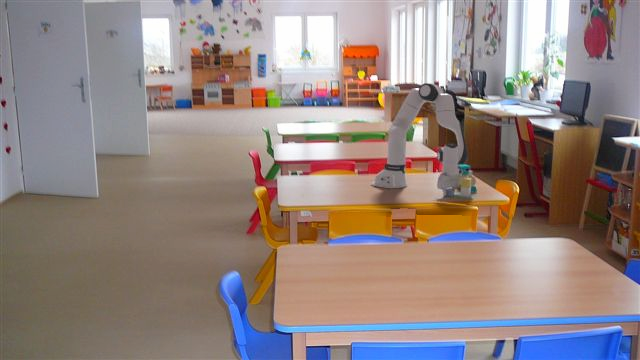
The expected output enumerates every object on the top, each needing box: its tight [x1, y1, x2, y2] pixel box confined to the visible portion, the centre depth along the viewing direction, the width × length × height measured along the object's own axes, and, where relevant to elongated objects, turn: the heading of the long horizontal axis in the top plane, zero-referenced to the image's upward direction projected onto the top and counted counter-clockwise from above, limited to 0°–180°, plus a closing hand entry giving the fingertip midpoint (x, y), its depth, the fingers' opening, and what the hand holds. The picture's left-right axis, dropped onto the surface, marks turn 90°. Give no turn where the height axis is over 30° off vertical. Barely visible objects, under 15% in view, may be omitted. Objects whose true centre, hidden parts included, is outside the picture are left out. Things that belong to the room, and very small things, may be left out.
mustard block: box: [461, 178, 472, 188], centre depth 389 cm, size 5×5×5 cm
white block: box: [460, 187, 472, 197], centre depth 390 cm, size 5×5×5 cm
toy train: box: [456, 163, 478, 193], centre depth 407 cm, size 8×17×15 cm, turn 15°
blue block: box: [442, 187, 455, 197], centre depth 391 cm, size 5×5×5 cm
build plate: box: [452, 191, 479, 200], centre depth 391 cm, size 13×13×1 cm
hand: (448, 194), depth 391 cm, fingers closed on blue block, 6 cm apart
